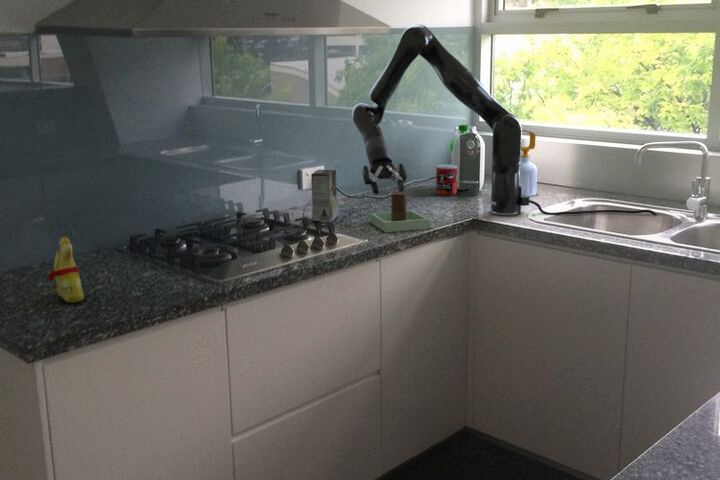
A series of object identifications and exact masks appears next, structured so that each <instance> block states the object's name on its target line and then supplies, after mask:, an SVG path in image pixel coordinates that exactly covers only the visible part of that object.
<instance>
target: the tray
mask: <svg viewBox="0 0 720 480" xmlns="http://www.w3.org/2000/svg"><path fill="white" fill-rule="evenodd" d="M369 216H370V217H369V218H370V221H369V222H370V224H372V225H373V226H375V227H376V228H377V229H379V230H381V231H382V232H384V233H394V232H405V231H419V230H429V229H430V219H429V218H428V217H426V216H424V215H422V214H420V213H418V212H417V211H415V210H413V209H406V221H394V222H391V211H383V212H371V213H370V215H369Z"/></svg>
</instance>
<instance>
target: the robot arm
mask: <svg viewBox="0 0 720 480" xmlns="http://www.w3.org/2000/svg"><path fill="white" fill-rule="evenodd" d="M418 56H420V57H421V58H423V59H424V60H425V61H426V62H427V63H428V64H429V65H430V66H431V67H432V69H433V70H434V71H435V73H436V75H437V77H438V78H439V80H440V81H441V83H442V84H443V86H444V87H445V88H446V89H447V91H449V93H451V94H452V95H453V96H454V97H455V98H456V99H457V100H458V101H459V102H460V103H461V104H463V105H464V106H466V107H467V108H468V109H470V110H471V111H473V113H475V114H477V115H478V116H479V117H480V118H481V119H482V120H483V121H484V122H485V124H487V126H488V127H489V128H490V129H491V130H492V152H491V153H492V154H491V193H490V200H489V203H490V214H492V215H495V216H505V217H506V216H515V215H521V213H522V206H523V207H524V206H525V207H526V206H530V204H533V205H534V206H536V207H537V208H538V210H539V212H540V213H542V214H544V215H550V216H559V215H580V214H582V215H583V214H599V213H602V214H603V213H604V214H605V213H619V214H641V213H642V214H643V213H650V214H652V215H653V216H658V215H657V213H656V212H655V211H653V210H651V209H639V210H627V209H626V210H625V209H597V210H596V209H594V210H579V211H577V210H576V211H558V212H556V211H555V212H549V211H545V210H543V208H542V206H541V205H540V204H539V202H537V201H534V200H531V199H530V196H528V197H527V196H525V195H521V191H522V186H521V185H519V178H520V161H521V155H522V153H521V152H522V149H521V147H522V130H521V129H522V124H521V122H520V119H519V118H518V117H517V116H516V115H514V114H513V113H511V112H510V111H509V110H507V109H506V107H504V106H503V105H502V104H500V103H499V102H498V101H497V100H496V99H495V98H494V97H493V96H492V94H491V93H490V92H489V90H488V89H487V88H486V86H484V84H483V83H482V82H481V81H480V80H479V78H477V77H476V76H475V75H474V74H473V72H471V71H470V70H469V69H468V68H467V67H466V66H465V65H464V64H463V63H462V62H461V61H459V59H457V58H456V57H455V56H454V55H452V53H450V52H449V50H447V49H446V47H444V45H443V44H442V43H441V42H440V41H439V39H438V38H437V37H436V35H434V34H433V32H432V31H431V30H430V28H429V27H427V26H426V25H424V24H421V23H414V24H412V25H410V26H409V27H407V28H406V29H405V30H403V32H402V34H401V37H400V39H399V42H398V44H397V46H396V49H395V50H394V53H393V55H392V57H391V59H390V60H389V62H388V64H387V66H386V67H385V68H384V69H383V71H382V73H381V74H380V75H379V76H378V79H377V80H376V82H375V83H374V85H373V86H372V88H371V89H370V92H369V94H368V97H369V99H370V101H371V102H373V105H370V104H366V103H363V102H362V103H360V102H359V103H357V104H356V105H354V106H353V108H352V112H351V117H352V121H353V123H354V125H355V127H356V129H357V131H358V132H359V133H360V135H361V136H362V138H363V143H364V147H365V154H366V156H367V160H368V163H369V167H368V166H367V165H364V166H363V168H362V170H361V172H362V177H363V182H364V185H370V186H371V187H370V188H371V189H372V193H373V194H374V195H377V196H378V194H379V193H380V190H379V188H378V187H379V186H378V183H377V180H378V179H379V180H389V179H390V180H391V181H392V182H393V181H394V182H395V183H396V185H397V189H398V192H404V190H405V185H404V183H406V180H407V178H408V175H407V173H406V170H405V167H404V165H403V163H399V164H398V165H394V163H393V161H392V156H391V153H390V150H389V146H388V143H387V141H386V139H385V136H384V132H383V129H382V128H381V126H380V124H381V123H382V121H383V117H384V114H385V111H386V109H387V106H388V103H389V102H390V99H391V98H392V96H393V95H394V94H395V92H396V90H397V88H398V87H399V85H400V83H401V81H402V79H403V76H405V73H406V72H407V70H408V68H409V67H410V66H411V64H412V63H413V62H414V61H415V60H416V59H417V57H418ZM370 173H371V174H372V175H373V176H372V178H370Z"/></svg>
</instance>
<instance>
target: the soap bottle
mask: <svg viewBox="0 0 720 480" xmlns="http://www.w3.org/2000/svg"><path fill="white" fill-rule="evenodd" d="M521 132H525V133H527V134H529V145H528V146H521V152H522V154H521V155H520V178H519V185H521V186H522V191H521V195H525V196H527V197H534V196H536V195H537V187H538V186H537V185H538V184H537V182H538V168H537V167H538V166H536V164H534V163H532V162H531V155H530V154H529V152H530V150H534V149H535V147H536V138H537V137H536V133H534V132H533V131H528V130H526V129H523V128H521Z"/></svg>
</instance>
